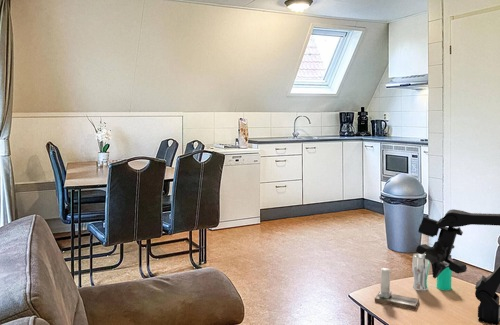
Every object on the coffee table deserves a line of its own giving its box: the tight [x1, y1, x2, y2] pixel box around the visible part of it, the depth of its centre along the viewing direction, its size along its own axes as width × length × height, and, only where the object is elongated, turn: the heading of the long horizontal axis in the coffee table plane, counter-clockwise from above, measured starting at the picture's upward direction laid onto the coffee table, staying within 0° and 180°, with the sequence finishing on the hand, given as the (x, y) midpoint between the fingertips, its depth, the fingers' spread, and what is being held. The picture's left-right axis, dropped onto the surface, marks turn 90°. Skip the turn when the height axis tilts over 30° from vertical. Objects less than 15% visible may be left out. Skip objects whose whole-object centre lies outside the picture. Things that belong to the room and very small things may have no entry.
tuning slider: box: [378, 267, 392, 299], centre depth 177 cm, size 4×6×11 cm, turn 148°
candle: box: [436, 267, 453, 291], centre depth 189 cm, size 6×6×12 cm
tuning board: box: [374, 291, 420, 310], centre depth 176 cm, size 16×8×2 cm, turn 58°
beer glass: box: [411, 253, 430, 292], centre depth 188 cm, size 7×7×15 cm
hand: (434, 277), depth 167 cm, fingers closed
